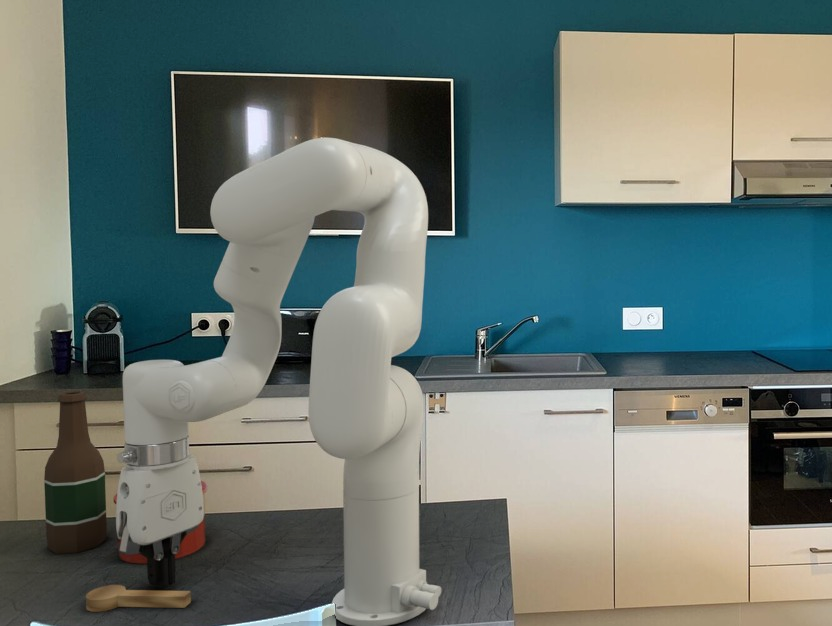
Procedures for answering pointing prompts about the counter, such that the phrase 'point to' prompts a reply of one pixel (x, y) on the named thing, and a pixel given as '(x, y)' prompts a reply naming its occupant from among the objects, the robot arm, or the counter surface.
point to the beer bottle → (74, 483)
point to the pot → (187, 546)
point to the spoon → (134, 598)
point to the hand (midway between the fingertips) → (162, 583)
